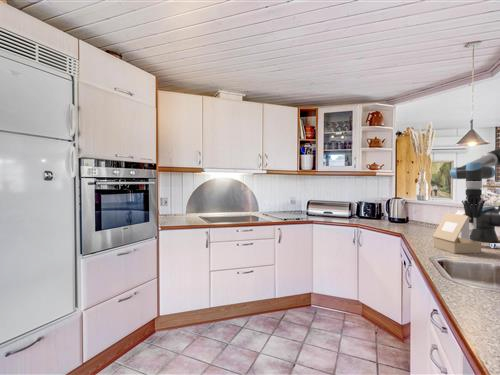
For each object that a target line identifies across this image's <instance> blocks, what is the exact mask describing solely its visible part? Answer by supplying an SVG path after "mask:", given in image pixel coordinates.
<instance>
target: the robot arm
mask: <svg viewBox="0 0 500 375" xmlns="http://www.w3.org/2000/svg"><path fill="white" fill-rule="evenodd" d="M494 166H500V148H495V149H494V150H491V151H489V152H486V153H485V154H483V155H482V156H481V157H479V158H476V159H475V160H473V161H470V162H466V164H464V165H462V166H456V167H452V168H451V169H450V170H449V176H450V178H451V179H454V180H465V188H466V189H465V199H463V200H461V203H462V205H463V210H464V211H465V214H466V216H469V217H470V218H471V219H469V229H471V232H470V234H469V240H471V241H475V242H480V243H498V242H499V238H498V235H497V233H496V228H495V227H498V228H500V204H499V205H498V206H497V207H498V208H496V207H495V206H484V204H485V203H486V200H485V199H484V200H483V199H482V197H481V196H482V195H483V193H482V192H483V190H482V188H483V180H484V179H485V180H489V179H492V178H494V177H495V175H496V169H495V168H494Z"/></svg>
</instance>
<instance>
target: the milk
mask: <svg viewBox="0 0 500 375" xmlns="http://www.w3.org/2000/svg"><path fill="white" fill-rule="evenodd" d="M454 214H459V215H466V214H465V210H464V209H457V210H456V212H455V213H454ZM458 237H459V238H463V239H467V240H470V223H469V219H467V221H466V223H465V225H464V226H463V228H462V230H461V232H460V234H459V236H458Z"/></svg>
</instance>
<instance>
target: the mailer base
mask: <svg viewBox="0 0 500 375" xmlns="http://www.w3.org/2000/svg"><path fill="white" fill-rule="evenodd" d="M455 242H456V243H453V242H449V241H446V240H442V239H438V238H435V237H433V248H436V249H438V250H441V251H444V252H447V253H449V254H450V253H451V254H453V255H457V254H459V255H460V254H462V255H463V254H482V242H480V241H474V240H470V239H469V240H467V239H463V238H459V237H457V239H456V241H455Z"/></svg>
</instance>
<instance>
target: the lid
mask: <svg viewBox="0 0 500 375" xmlns="http://www.w3.org/2000/svg"><path fill="white" fill-rule="evenodd" d="M467 219H471V218H470V217H469V216H466V215H459V214H455V213H451V212H445V214H444V215H443V217H442V219H441V221H440V222H439V225H438V226H437V227H436V230H434V233H433V235H432V237H433V238H438V239H442V240H446V241H449V242H453V243H456V242H455V241H456V239H457V237H458V236H459V234H460V232H461V230H462V228H463V226H464V225H465V223H466V221H467Z"/></svg>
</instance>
